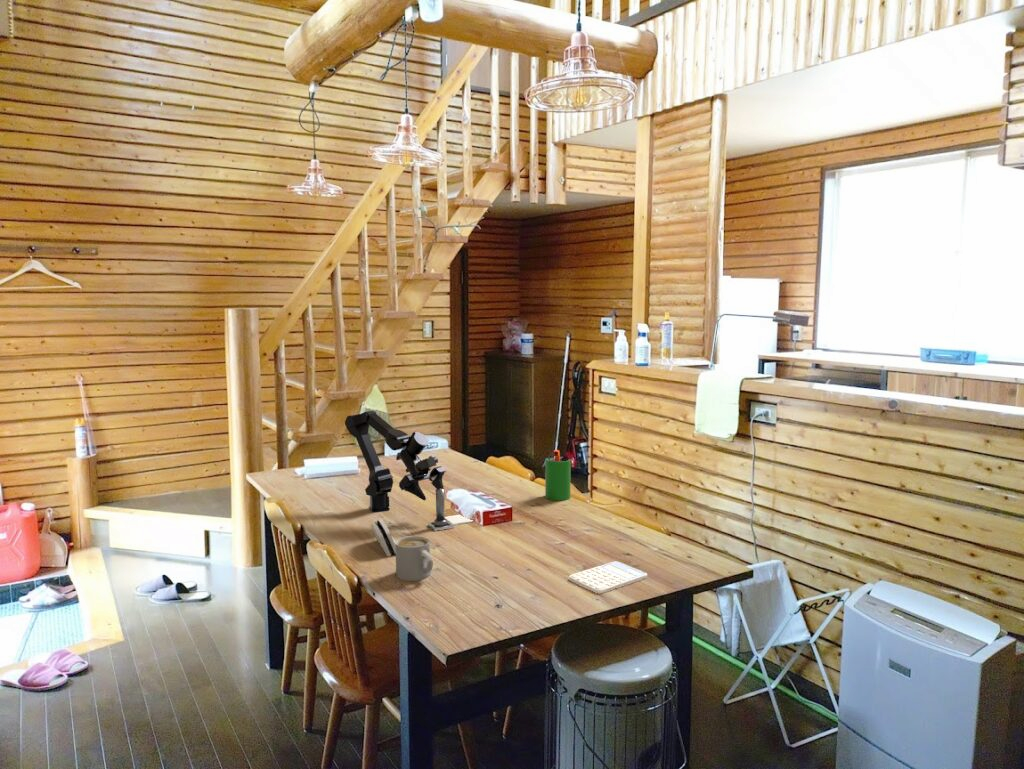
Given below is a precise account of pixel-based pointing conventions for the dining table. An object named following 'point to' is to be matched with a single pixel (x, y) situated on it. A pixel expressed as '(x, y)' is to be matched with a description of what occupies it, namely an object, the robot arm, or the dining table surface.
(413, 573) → the coffee mug
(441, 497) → the grey metal post
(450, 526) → the gray square frame
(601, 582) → the calculator
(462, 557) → the dining table surface
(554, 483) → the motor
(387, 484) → the robot arm
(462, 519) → the mat
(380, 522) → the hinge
